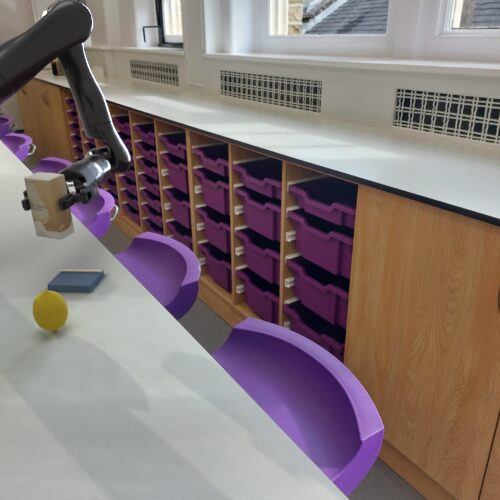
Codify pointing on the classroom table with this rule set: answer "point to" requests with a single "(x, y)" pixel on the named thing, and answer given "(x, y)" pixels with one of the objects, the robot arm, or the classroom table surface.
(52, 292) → the lemon
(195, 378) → the classroom table surface
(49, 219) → the cosmetic box
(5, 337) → the classroom table surface
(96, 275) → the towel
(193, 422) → the classroom table surface
